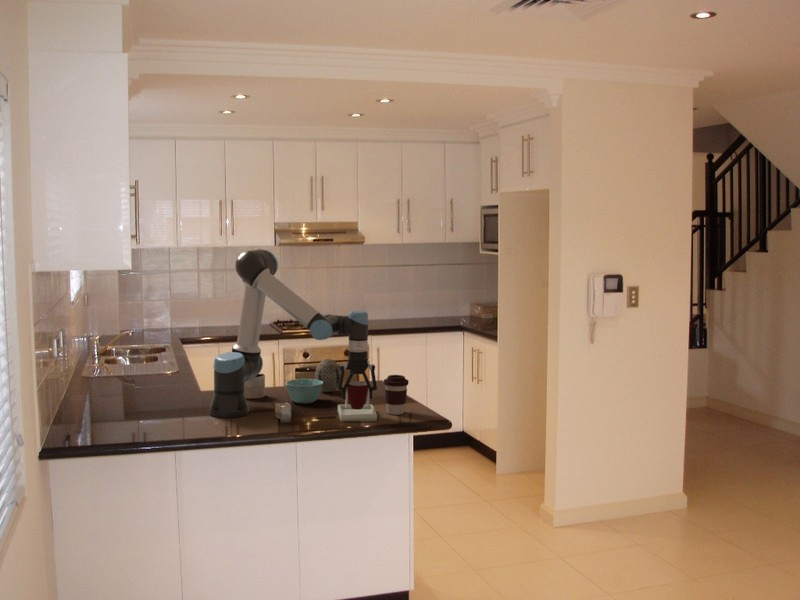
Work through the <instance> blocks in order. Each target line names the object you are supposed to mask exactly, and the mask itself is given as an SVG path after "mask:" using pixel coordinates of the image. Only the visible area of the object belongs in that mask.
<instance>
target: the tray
mask: <svg viewBox="0 0 800 600" xmlns="http://www.w3.org/2000/svg"><path fill="white" fill-rule="evenodd" d="M337 413H338V417H339V419H340V422H377V421H378V414H377V412H376V410H375V407H374V405H373V404H370V403H369V408H367V403H365V404H364V406H363V408H362V409H360V410H355V409H352V408H351V405H350V404H348V406H347V408H345V404H337Z"/></svg>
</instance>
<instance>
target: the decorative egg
mask: <svg viewBox="0 0 800 600" xmlns="http://www.w3.org/2000/svg"><path fill="white" fill-rule="evenodd" d="M315 368H316V369H315V372H314V379H316V380H320V381H322V382H323V385H322V388H321V391H322V392H324V393H332V392H334V391H336V390H338V384H339V379H340V373H341V367H340V365H339V364H338V363H337V362H336V361H334V360H333V359H331V358H325V359H322V360H321V361H320V362H319V363H318V364H317V366H316V367H315Z"/></svg>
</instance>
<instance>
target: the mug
mask: <svg viewBox="0 0 800 600" xmlns="http://www.w3.org/2000/svg"><path fill="white" fill-rule="evenodd" d="M368 390H369V388H368V385H367V384H366V381H365V382H364V381H350V383H349V384H348V387H347V391H348V403H349V405H351V408H352V409H355V410H360V409H362V408H363V406H364V404H366V403H367V393H368Z"/></svg>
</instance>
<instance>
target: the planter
mask: <svg viewBox="0 0 800 600" xmlns="http://www.w3.org/2000/svg"><path fill="white" fill-rule="evenodd" d="M244 395H245V398H246V400H259V399H262V398H264V397H265V396H266V375H265V373H261V372H260V373H259V374H258V375H257V376H256V377H254V378H253V379H250V380H247V381H245V382H244Z"/></svg>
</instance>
